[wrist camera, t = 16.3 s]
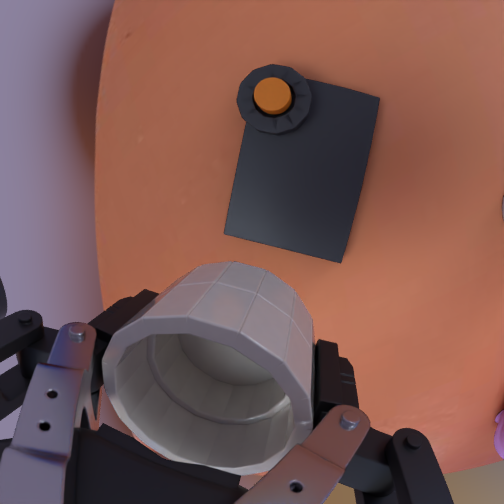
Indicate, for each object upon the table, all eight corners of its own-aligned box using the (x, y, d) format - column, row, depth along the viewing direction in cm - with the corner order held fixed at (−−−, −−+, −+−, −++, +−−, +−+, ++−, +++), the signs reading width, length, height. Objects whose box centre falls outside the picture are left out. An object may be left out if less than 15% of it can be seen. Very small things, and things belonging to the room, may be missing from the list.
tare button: (254, 111, 22) (250, 107, 20) (260, 80, 21) (257, 74, 19) (287, 117, 21) (286, 114, 20) (294, 86, 20) (293, 80, 19)
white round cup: (162, 364, 14) (110, 434, 9) (175, 239, 12) (98, 283, 7) (290, 402, 13) (276, 490, 8) (334, 281, 11) (348, 358, 6)
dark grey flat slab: (219, 229, 27) (209, 235, 24) (252, 71, 23) (245, 60, 20) (339, 258, 26) (343, 269, 23) (377, 98, 22) (385, 90, 19)
